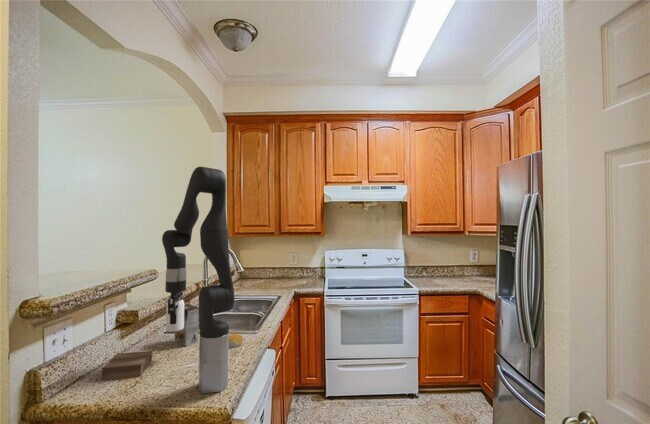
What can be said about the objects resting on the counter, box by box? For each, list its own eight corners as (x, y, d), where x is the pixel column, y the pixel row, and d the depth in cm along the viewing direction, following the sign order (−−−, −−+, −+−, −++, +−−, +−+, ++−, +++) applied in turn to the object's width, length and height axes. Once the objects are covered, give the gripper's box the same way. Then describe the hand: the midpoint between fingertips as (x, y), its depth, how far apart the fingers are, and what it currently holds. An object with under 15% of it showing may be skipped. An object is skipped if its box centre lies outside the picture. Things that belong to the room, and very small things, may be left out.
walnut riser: (140, 376, 109) (140, 364, 109) (102, 379, 107) (102, 368, 107) (151, 361, 121) (151, 351, 121) (117, 364, 118) (117, 353, 118)
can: (179, 326, 128) (179, 296, 129) (187, 329, 124) (187, 298, 125) (163, 330, 123) (163, 299, 124) (170, 333, 119) (171, 301, 120)
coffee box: (173, 342, 140) (174, 306, 141) (186, 338, 146) (187, 303, 146) (186, 346, 135) (186, 309, 136) (198, 342, 141) (199, 306, 141)
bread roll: (243, 340, 144) (243, 331, 144) (241, 347, 135) (241, 338, 135) (225, 340, 143) (225, 332, 143) (221, 348, 134) (221, 339, 134)
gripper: (181, 281, 119) (181, 326, 118) (189, 276, 133) (189, 315, 132) (160, 282, 117) (159, 327, 116) (170, 276, 131) (169, 317, 130)
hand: (175, 321), depth 124 cm, fingers closed on can, 6 cm apart
